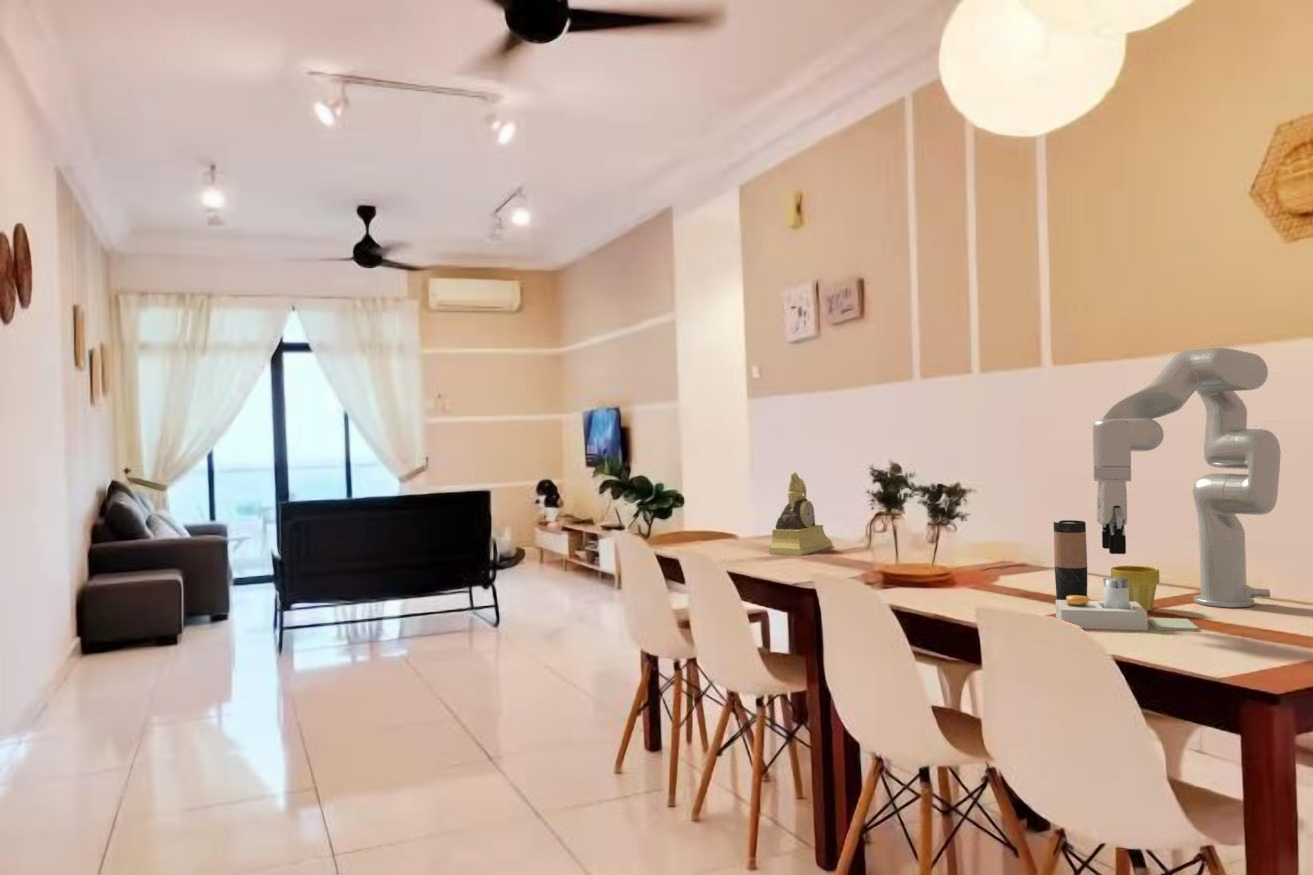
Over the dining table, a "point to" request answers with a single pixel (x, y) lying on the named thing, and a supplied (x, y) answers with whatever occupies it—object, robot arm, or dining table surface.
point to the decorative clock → (798, 525)
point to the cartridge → (1116, 593)
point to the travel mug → (1070, 558)
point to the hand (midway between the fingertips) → (1113, 551)
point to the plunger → (1077, 600)
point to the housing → (1103, 616)
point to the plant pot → (1139, 583)
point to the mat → (1173, 624)
